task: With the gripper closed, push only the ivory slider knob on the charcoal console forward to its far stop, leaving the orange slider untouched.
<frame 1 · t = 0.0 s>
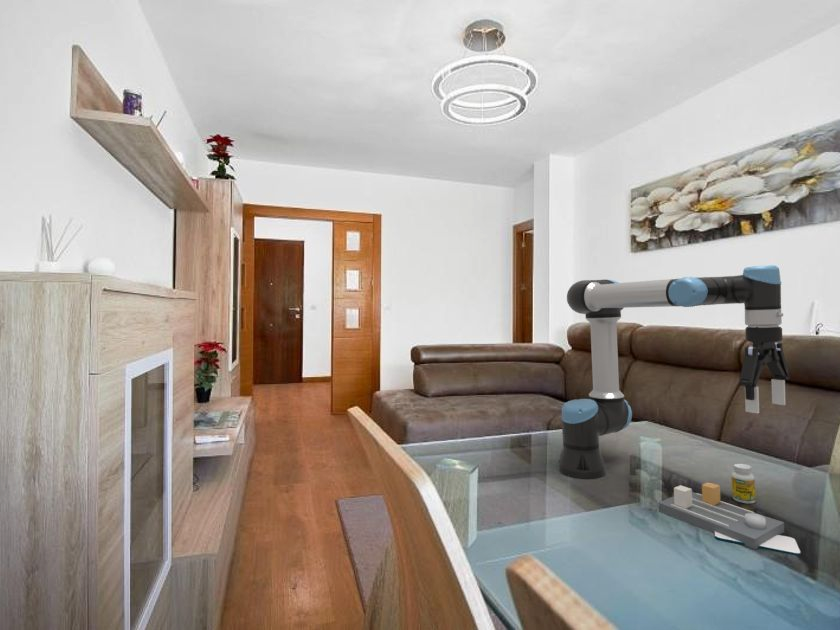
hand: (766, 408, 116), 28 cm above the table, fingers open, 13 cm apart
slider ivory: (683, 496, 119), point 5 cm above the table, slide at 0.0 cm
supplement bottle: (743, 500, 126), on the table
console: (717, 521, 115), on the table
smartphone: (754, 541, 106), on the table
slider orange: (711, 493, 120), point 5 cm above the table, slide at 3.0 cm
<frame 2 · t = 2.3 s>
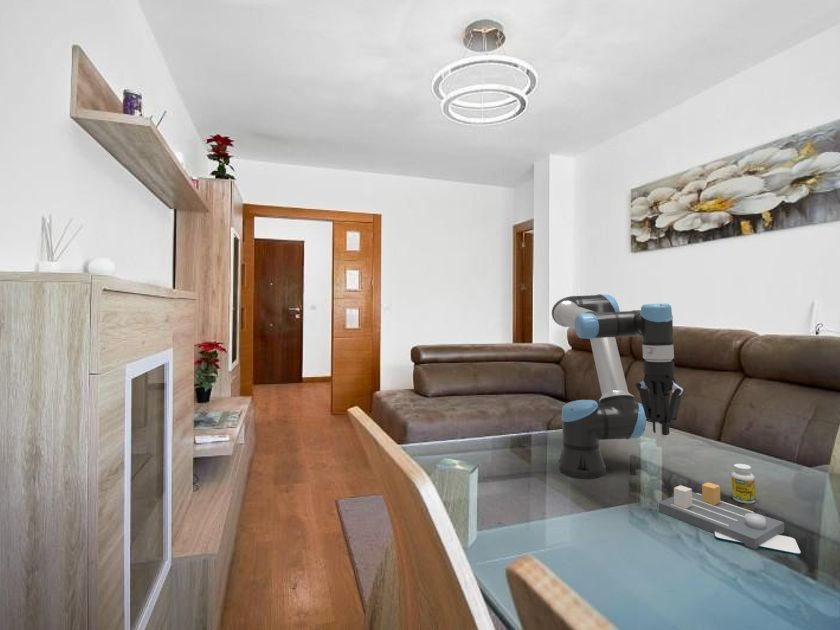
hand: (661, 445, 123), 17 cm above the table, fingers closed
nothing on the table moved.
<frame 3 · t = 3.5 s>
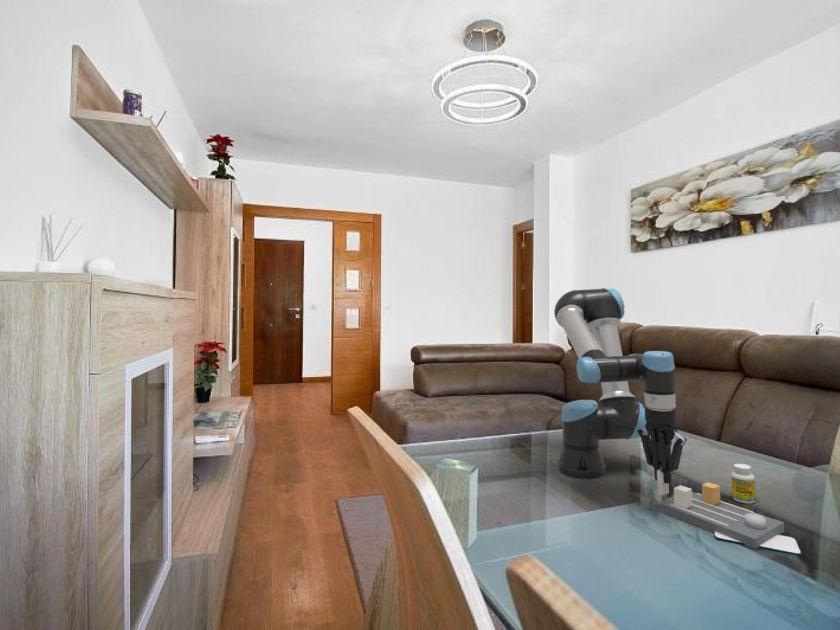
hand: (663, 493, 123), 4 cm above the table, fingers closed
nothing on the table moved.
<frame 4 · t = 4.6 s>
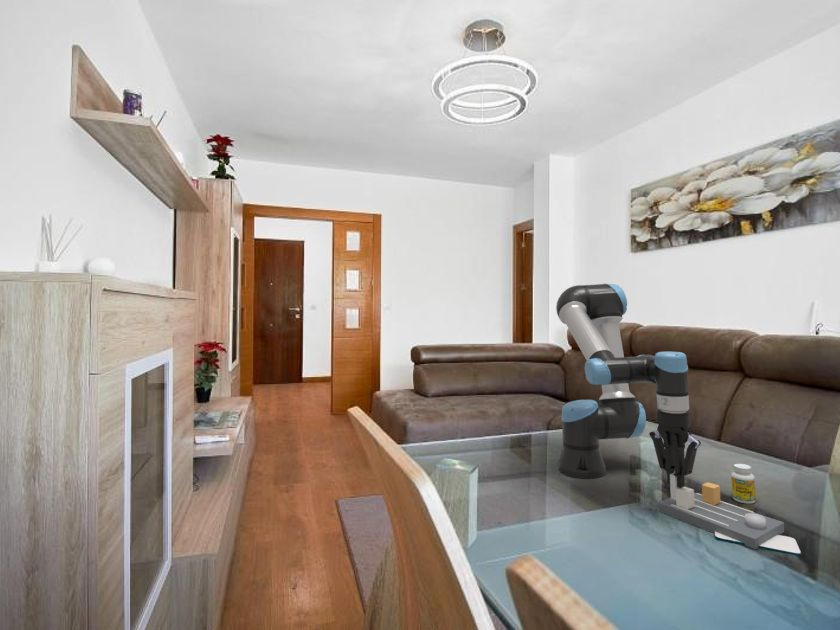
hand: (676, 497, 120), 4 cm above the table, fingers closed
slider ivory: (685, 497, 118), point 5 cm above the table, slide at 0.5 cm, touching gripper
everything else where it was.
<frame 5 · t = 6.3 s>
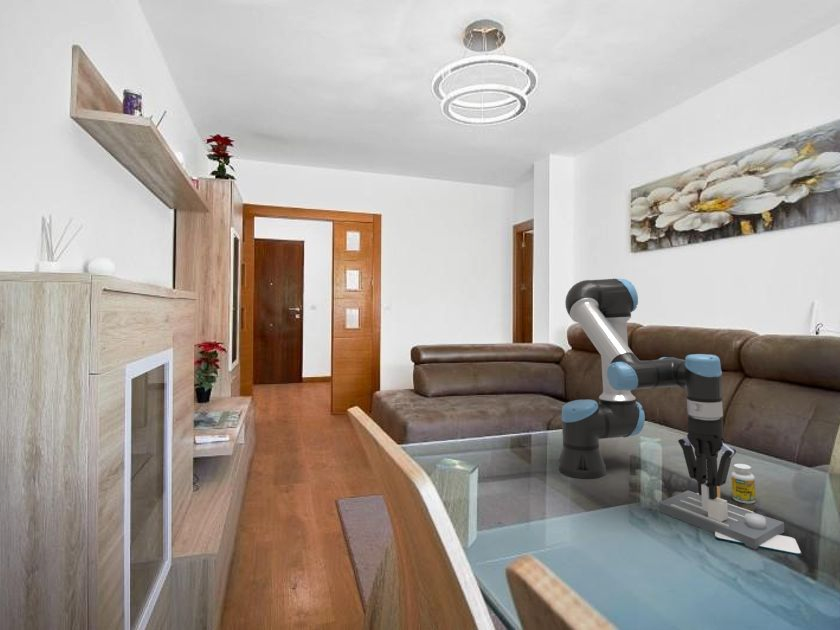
hand: (708, 509, 113), 4 cm above the table, fingers closed
slider ivory: (717, 508, 111), point 5 cm above the table, slide at 8.6 cm, touching gripper
everything else where it was.
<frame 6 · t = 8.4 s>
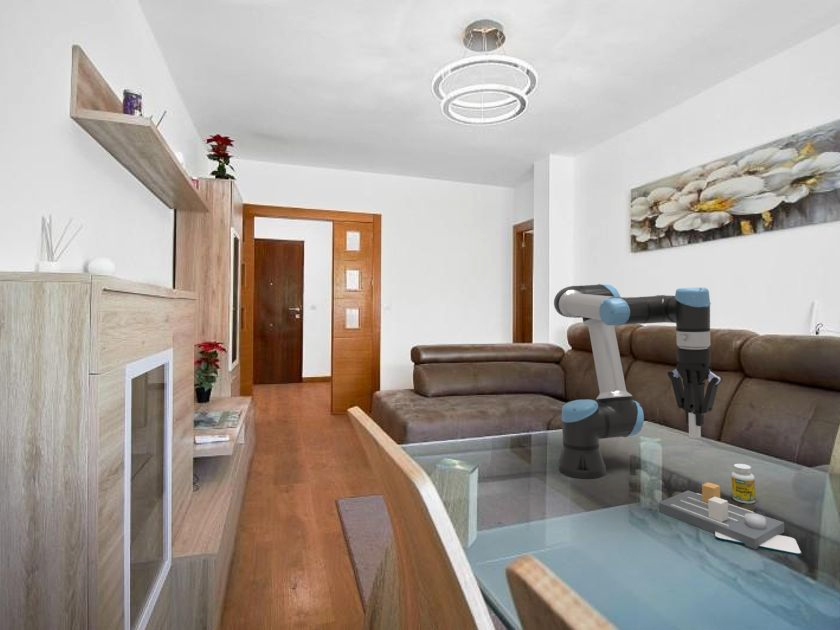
hand: (694, 437, 117), 21 cm above the table, fingers closed
slider ivory: (718, 509, 111), point 5 cm above the table, slide at 8.7 cm
everything else where it was.
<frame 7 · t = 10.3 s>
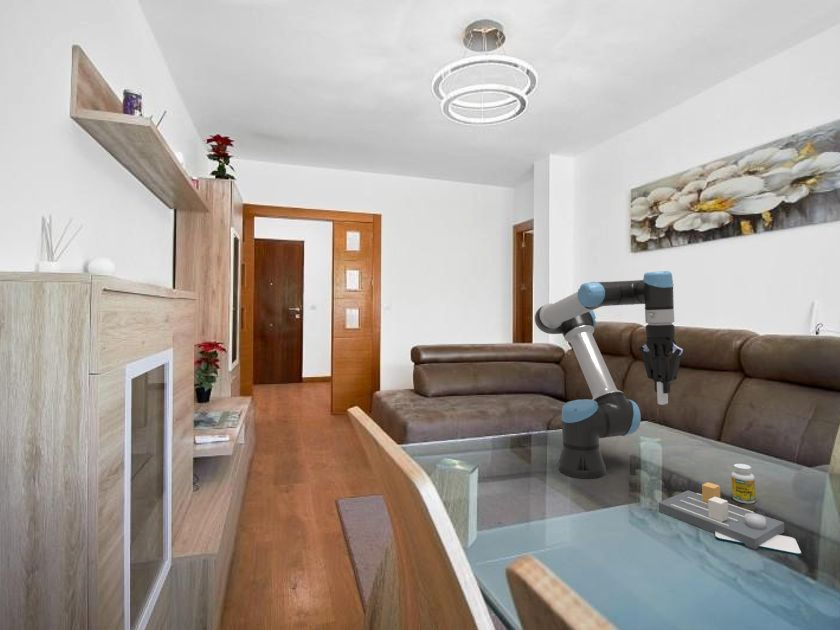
hand: (662, 403, 132), 26 cm above the table, fingers closed
nothing on the table moved.
at the end: slider ivory slide at 8.7 cm; slider orange slide at 3.0 cm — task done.
